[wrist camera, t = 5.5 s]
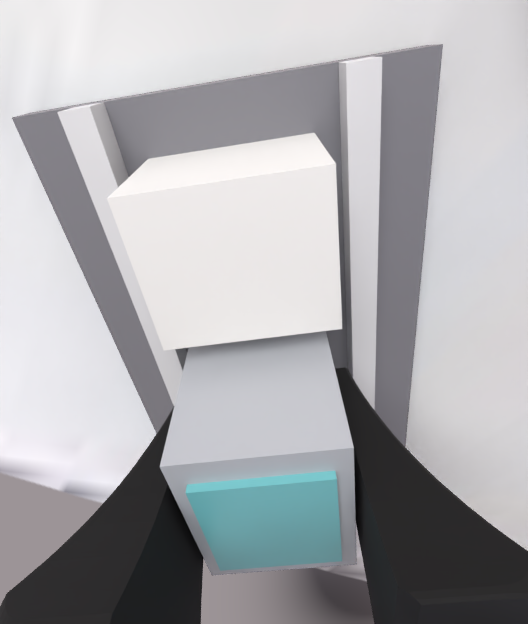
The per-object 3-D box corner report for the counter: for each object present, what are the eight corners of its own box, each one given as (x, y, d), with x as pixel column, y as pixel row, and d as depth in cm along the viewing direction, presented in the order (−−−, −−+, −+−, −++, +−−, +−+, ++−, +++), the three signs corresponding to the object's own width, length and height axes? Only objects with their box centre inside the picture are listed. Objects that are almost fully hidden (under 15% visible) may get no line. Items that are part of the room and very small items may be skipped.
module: (325, 399, 15) (358, 572, 10) (227, 410, 16) (211, 583, 11) (316, 293, 13) (356, 456, 8) (198, 308, 13) (157, 475, 8)
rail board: (396, 461, 20) (427, 554, 16) (189, 481, 21) (174, 574, 17) (427, 45, 10) (526, 40, 6) (30, 112, 11) (-89, 143, 7)
